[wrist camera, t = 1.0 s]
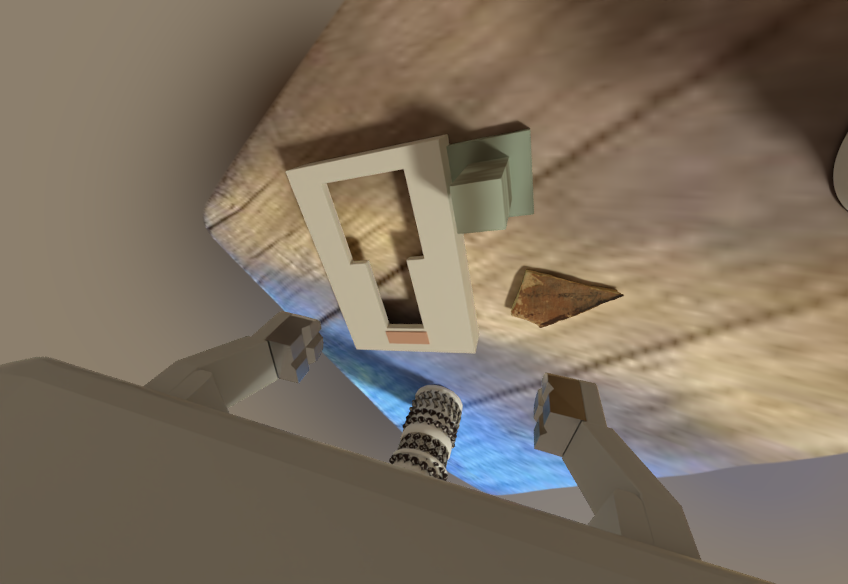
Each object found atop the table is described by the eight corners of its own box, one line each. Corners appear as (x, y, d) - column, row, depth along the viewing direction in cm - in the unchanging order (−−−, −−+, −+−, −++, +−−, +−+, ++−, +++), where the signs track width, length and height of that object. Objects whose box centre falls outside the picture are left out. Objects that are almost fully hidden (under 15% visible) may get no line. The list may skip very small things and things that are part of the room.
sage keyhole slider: (530, 128, 31) (527, 144, 22) (533, 209, 35) (533, 250, 26) (449, 144, 34) (420, 164, 25) (461, 218, 37) (439, 257, 29)
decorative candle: (403, 388, 56) (330, 557, 36) (447, 378, 52) (391, 564, 32) (430, 422, 59) (376, 595, 39) (474, 415, 55) (438, 607, 35)
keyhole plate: (447, 134, 33) (437, 139, 30) (479, 334, 45) (474, 354, 42) (305, 164, 39) (284, 171, 36) (367, 332, 52) (356, 350, 48)
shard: (621, 288, 37) (625, 296, 35) (592, 336, 41) (594, 346, 40) (526, 264, 38) (526, 271, 37) (508, 313, 43) (507, 321, 41)
